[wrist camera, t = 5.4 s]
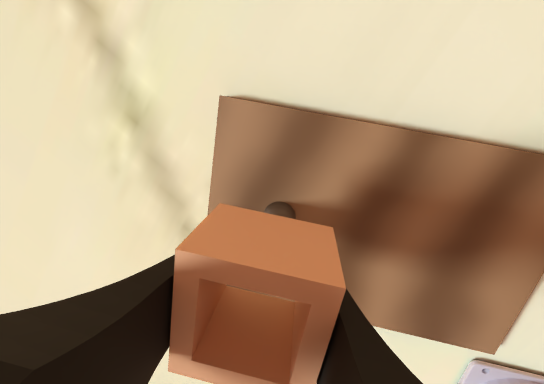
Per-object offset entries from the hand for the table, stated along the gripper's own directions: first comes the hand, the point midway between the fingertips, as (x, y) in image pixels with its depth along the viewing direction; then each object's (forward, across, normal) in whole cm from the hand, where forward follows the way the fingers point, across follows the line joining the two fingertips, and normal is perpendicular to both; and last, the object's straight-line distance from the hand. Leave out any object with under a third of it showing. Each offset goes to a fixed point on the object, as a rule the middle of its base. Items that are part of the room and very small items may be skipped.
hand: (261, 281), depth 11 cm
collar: (+1, 0, 0) cm, 1 cm away
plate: (+8, -6, 0) cm, 10 cm away
